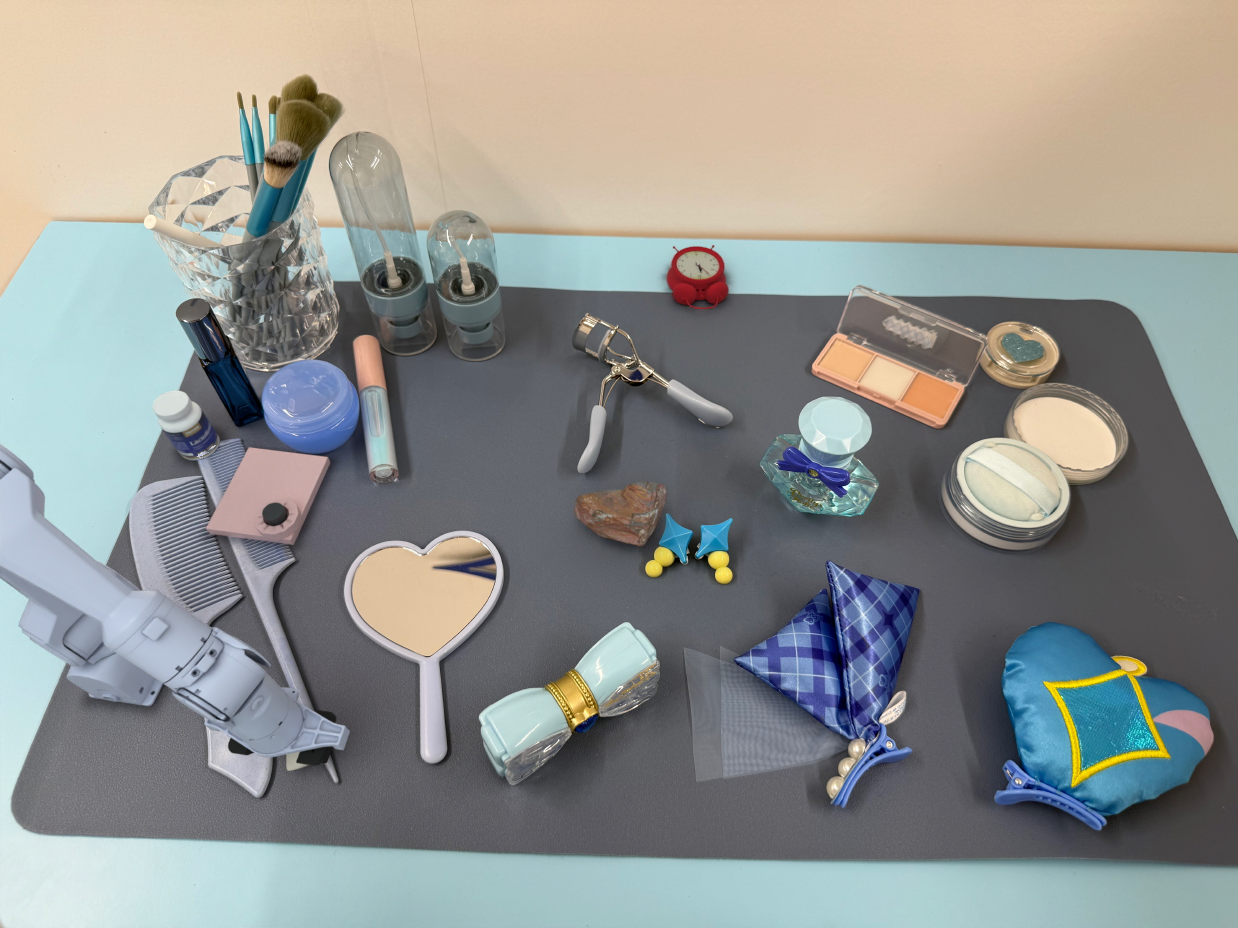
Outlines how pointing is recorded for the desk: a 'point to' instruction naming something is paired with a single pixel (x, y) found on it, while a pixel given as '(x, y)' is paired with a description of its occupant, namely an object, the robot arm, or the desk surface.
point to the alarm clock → (697, 276)
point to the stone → (623, 511)
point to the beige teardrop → (293, 762)
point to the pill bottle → (185, 425)
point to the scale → (269, 495)
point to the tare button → (274, 514)
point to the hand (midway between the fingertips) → (303, 750)
